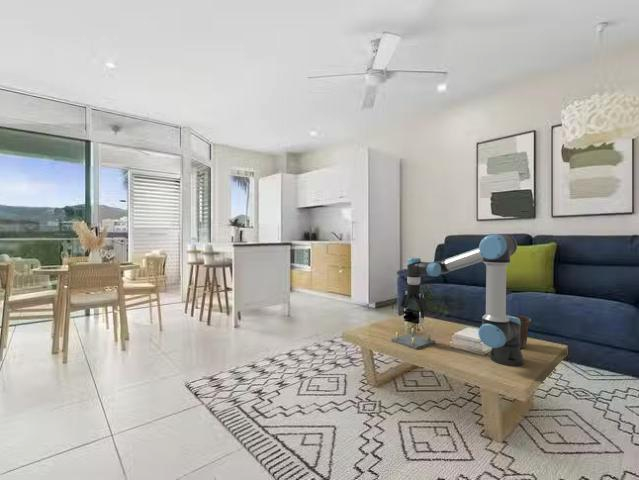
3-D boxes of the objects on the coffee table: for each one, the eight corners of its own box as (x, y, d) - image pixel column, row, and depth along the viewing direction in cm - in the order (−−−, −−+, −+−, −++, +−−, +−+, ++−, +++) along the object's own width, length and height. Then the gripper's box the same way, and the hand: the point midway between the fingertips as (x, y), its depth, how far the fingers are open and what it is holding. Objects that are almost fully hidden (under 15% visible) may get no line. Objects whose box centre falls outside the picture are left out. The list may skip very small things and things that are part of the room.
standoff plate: (435, 343, 196) (435, 334, 196) (416, 349, 185) (416, 339, 185) (410, 335, 211) (410, 326, 210) (391, 341, 200) (391, 332, 200)
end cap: (424, 322, 196) (424, 310, 196) (417, 324, 192) (418, 312, 191) (409, 318, 204) (409, 307, 203) (402, 320, 199) (403, 309, 199)
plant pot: (523, 352, 182) (524, 323, 181) (493, 344, 194) (493, 317, 194) (534, 346, 192) (535, 318, 191) (504, 338, 204) (505, 312, 204)
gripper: (434, 285, 190) (433, 324, 191) (402, 280, 208) (402, 315, 209) (426, 287, 186) (425, 326, 186) (394, 281, 204) (394, 317, 205)
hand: (413, 320), depth 198 cm, fingers closed on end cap, 10 cm apart
